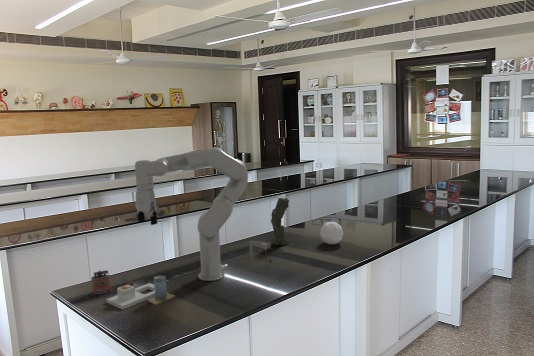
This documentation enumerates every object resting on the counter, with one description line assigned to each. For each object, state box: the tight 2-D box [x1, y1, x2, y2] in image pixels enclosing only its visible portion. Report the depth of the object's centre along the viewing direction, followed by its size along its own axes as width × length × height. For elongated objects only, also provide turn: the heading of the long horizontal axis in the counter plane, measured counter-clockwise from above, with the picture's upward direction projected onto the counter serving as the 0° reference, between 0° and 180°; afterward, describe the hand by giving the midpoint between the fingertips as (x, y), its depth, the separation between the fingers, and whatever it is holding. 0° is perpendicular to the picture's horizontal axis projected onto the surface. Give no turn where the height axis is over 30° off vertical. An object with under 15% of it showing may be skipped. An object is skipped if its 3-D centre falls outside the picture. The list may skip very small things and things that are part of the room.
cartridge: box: [153, 275, 168, 300], centre depth 193 cm, size 5×5×9 cm
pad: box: [146, 292, 176, 306], centre depth 193 cm, size 10×6×1 cm, turn 140°
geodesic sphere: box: [319, 220, 344, 245], centre depth 264 cm, size 14×14×14 cm
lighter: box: [90, 269, 113, 295], centre depth 202 cm, size 8×3×10 cm, turn 106°
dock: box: [106, 282, 155, 310], centre depth 196 cm, size 22×12×6 cm, turn 140°
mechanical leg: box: [270, 197, 290, 248], centre depth 264 cm, size 13×7×29 cm, turn 130°
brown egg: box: [121, 284, 129, 290], centre depth 192 cm, size 3×3×4 cm
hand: (147, 222), depth 211 cm, fingers open, 9 cm apart
